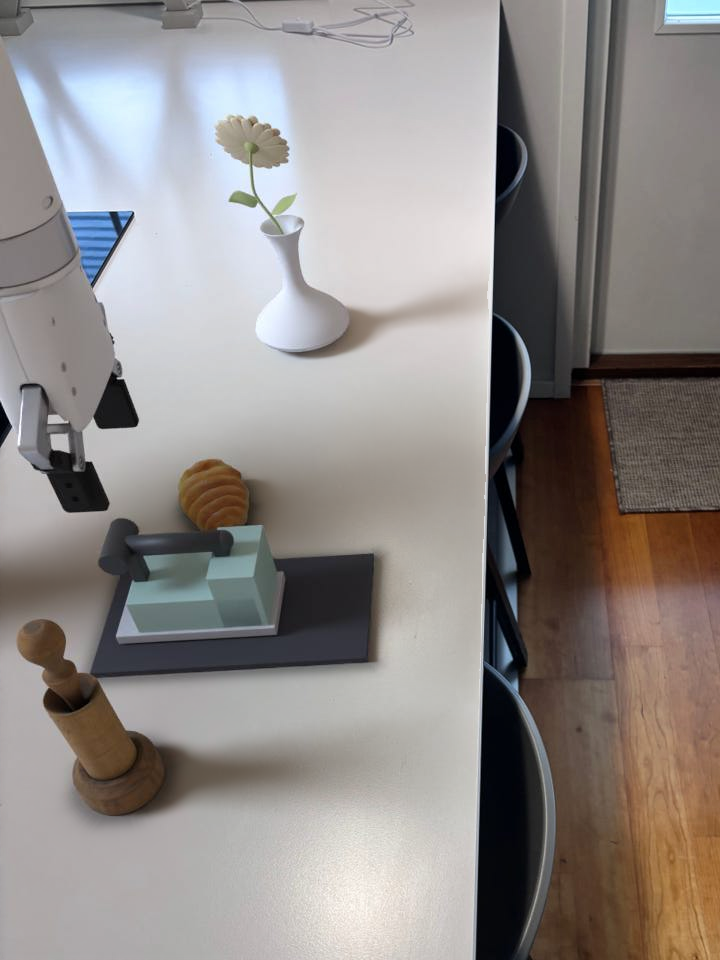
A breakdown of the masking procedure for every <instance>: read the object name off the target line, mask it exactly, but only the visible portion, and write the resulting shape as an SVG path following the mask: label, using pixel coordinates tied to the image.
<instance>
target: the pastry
mask: <svg viewBox="0 0 720 960" xmlns="http://www.w3.org/2000/svg"><path fill="white" fill-rule="evenodd" d="M177 485H178V486H177V489H178V497H177V498H178V501H177V502H178V505H179V506H180V507H181V508H182V510H183V512H184V514H185V515H186V517H187V518H188V519H189V520H190V521H191V522H192V523H193V524H194V525H195V527H197V528H198V529H199V531H207V530H217V528H219V527H236V526H246V523H247V521H248V511H249V509H250V503H249V499H250V498H249V497H250V490H249V489H248V487H247V485H245V482H244V481H243V478H242V472H240V471H239V470H238V469H236V468H234V467H233V466H232V465H230V464H228V463H226V462H224V461H223V460H222V459H218V458H207V459H204V460H203V459H202V460H200V461H197V462H195V463H194V464H192V466H191V467H189V468H187V469H185V470H184V472H183V473H182V475H181V476H180V478H179V482H178V484H177Z"/></svg>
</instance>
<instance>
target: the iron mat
mask: <svg viewBox="0 0 720 960" xmlns="http://www.w3.org/2000/svg"><path fill="white" fill-rule="evenodd" d="M273 561H274V564H275V567H276V571H277V572H284V576H285V585H284V591H283V598H282V605H281V611H280V618H279V625H278V631H277V635H266V636H249V637H232V638H214V639H197V640H179V641H162V642H144V643H127V644H119V642H118V640H117V638H116V634H117V631H118V628H119V624H120V621H121V618H122V614H123V611H124V607H125V604H126V601H127V597H128V594H129V591H130V587H131V584H132V581H133V578H132V576H131V574H130V572H129V569H128V571H127V572H126V573H125V574H123V575H119V576H118V577H119V578H118V581H117V584H116V588H115V589H114V590H115V591H114V594H113V597H112V600H111V603H110V607H109V610H108V613H107V617H106V619H105V623H104V626H103V629H102V632H101V635H100V639H99V642H98V645H97V648H96V652H95V655H94V658H93V662H92V665H91V667H90V671H89V674H91V675H93V676H94V677H95V678H105V677H106V678H107V677H120V676H121V677H122V676H139V675H142V676H143V675H159V674H175V673H191V672H192V673H194V672H210V671H211V672H212V671H213V672H214V671H228V670H243V669H244V670H246V669H247V670H248V669H249V670H250V669H263V668H282V667H300V666H317V665H318V666H319V665H335V664H354V663H367V662H369V661H368V660H369V647H370V646H369V645H370V631H371V616H372V615H371V614H372V599H373V588H374V570H375V569H374V568H375V554H374V553H373V552H372V553H370V552H369V553H355V554H353V553H352V554H339V555H338V554H337V555H322V556H304V557H303V556H301V557H287V558H273Z"/></svg>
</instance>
